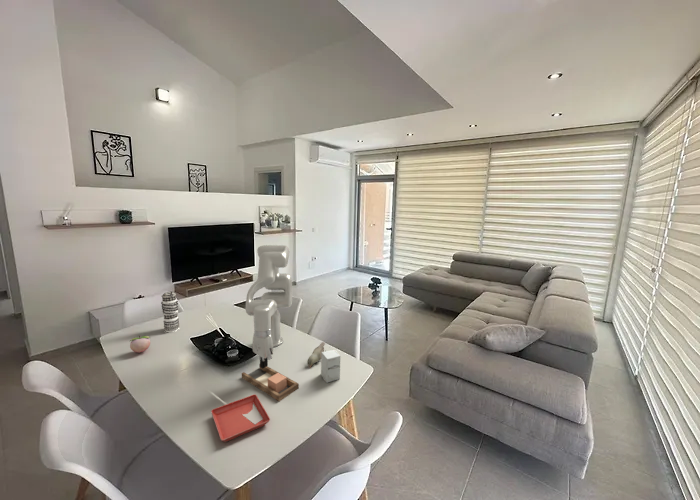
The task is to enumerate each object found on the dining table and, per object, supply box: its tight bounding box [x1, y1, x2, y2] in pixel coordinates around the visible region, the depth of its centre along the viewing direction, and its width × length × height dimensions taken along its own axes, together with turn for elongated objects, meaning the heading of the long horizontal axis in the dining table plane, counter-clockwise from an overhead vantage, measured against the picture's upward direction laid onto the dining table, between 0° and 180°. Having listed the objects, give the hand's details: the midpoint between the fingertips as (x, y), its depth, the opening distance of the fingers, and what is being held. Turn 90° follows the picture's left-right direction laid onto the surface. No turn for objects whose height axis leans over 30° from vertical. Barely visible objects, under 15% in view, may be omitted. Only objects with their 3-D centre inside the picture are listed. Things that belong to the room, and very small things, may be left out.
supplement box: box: [320, 349, 341, 384], centre depth 145 cm, size 7×7×13 cm
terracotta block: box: [268, 372, 288, 393], centre depth 136 cm, size 6×6×5 cm
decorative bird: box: [307, 341, 326, 369], centre depth 160 cm, size 5×16×8 cm, turn 157°
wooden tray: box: [241, 363, 300, 402], centre depth 139 cm, size 27×11×3 cm, turn 54°
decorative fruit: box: [129, 335, 151, 353], centre depth 163 cm, size 9×8×10 cm
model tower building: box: [160, 291, 180, 333], centre depth 190 cm, size 9×9×25 cm
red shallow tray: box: [210, 393, 271, 443], centre depth 116 cm, size 18×18×3 cm
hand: (263, 366), depth 142 cm, fingers closed
